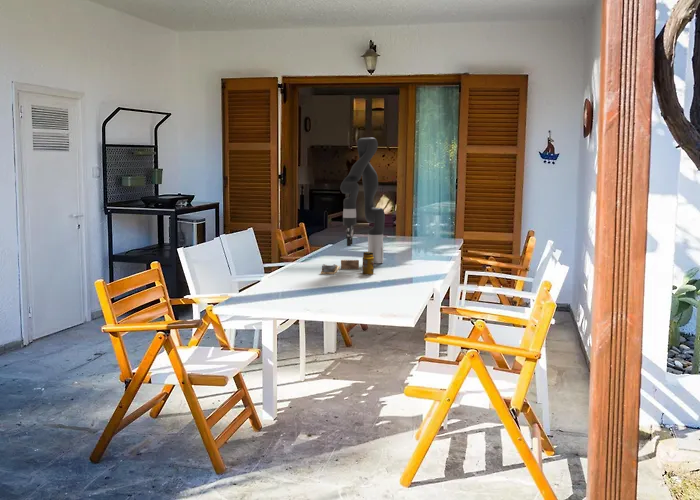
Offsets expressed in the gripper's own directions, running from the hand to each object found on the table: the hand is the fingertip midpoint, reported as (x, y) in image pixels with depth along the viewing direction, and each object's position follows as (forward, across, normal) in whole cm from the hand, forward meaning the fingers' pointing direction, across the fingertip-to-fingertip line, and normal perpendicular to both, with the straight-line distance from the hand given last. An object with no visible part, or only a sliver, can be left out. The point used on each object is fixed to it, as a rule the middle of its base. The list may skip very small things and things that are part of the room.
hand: (349, 245), depth 397 cm
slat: (+14, 0, 0) cm, 14 cm away
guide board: (+14, -8, +10) cm, 19 cm away
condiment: (+14, -18, -11) cm, 25 cm away
